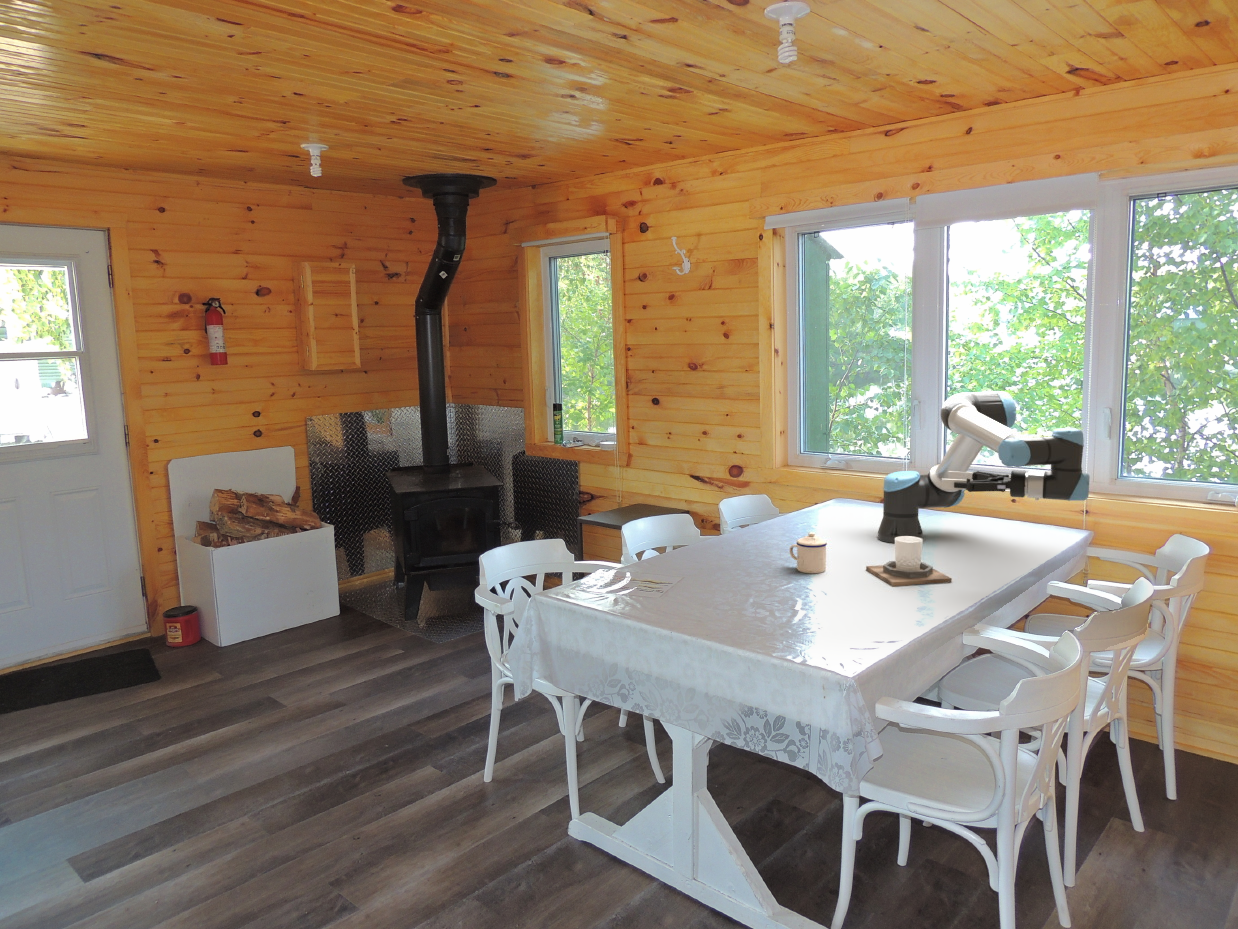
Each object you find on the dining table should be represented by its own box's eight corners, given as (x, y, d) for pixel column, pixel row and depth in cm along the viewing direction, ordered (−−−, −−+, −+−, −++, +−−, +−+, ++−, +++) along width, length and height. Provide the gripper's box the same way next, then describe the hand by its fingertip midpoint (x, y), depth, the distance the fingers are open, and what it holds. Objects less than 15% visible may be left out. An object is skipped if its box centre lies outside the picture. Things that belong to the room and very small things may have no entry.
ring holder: (866, 570, 272) (866, 560, 272) (921, 566, 275) (921, 556, 274) (892, 586, 255) (892, 576, 254) (951, 582, 257) (951, 572, 257)
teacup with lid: (831, 569, 274) (832, 532, 273) (817, 575, 267) (817, 537, 266) (797, 563, 282) (797, 527, 280) (782, 569, 275) (782, 532, 273)
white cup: (889, 569, 268) (890, 536, 267) (915, 568, 269) (916, 535, 267) (900, 576, 260) (900, 542, 259) (926, 574, 261) (927, 541, 260)
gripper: (1022, 505, 236) (938, 500, 246) (1028, 489, 258) (950, 485, 267) (1024, 478, 235) (939, 473, 244) (1029, 464, 256) (951, 460, 266)
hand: (945, 479), depth 256 cm, fingers open, 13 cm apart
